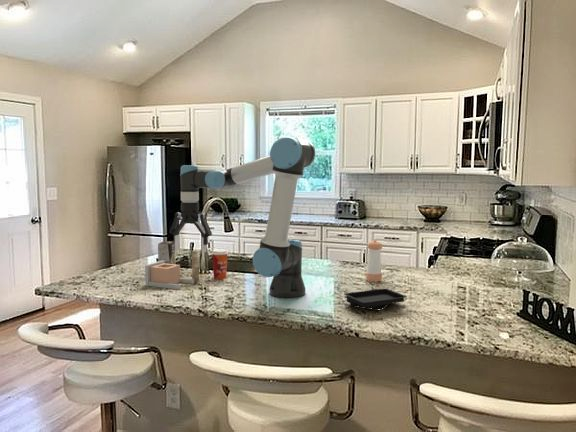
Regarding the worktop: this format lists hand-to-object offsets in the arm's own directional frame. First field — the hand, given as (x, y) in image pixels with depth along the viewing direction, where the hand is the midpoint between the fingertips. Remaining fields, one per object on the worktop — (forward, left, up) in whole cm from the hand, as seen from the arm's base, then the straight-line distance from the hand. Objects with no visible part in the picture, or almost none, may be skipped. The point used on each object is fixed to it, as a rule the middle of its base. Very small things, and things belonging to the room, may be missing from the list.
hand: (190, 251), depth 203 cm
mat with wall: (+11, -4, -17) cm, 20 cm away
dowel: (+4, -10, -16) cm, 19 cm away
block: (+13, 0, -15) cm, 20 cm away
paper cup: (-3, -20, -17) cm, 26 cm away
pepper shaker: (-70, -48, -17) cm, 86 cm away
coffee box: (+26, -19, -17) cm, 36 cm away
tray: (-79, -7, -17) cm, 81 cm away
